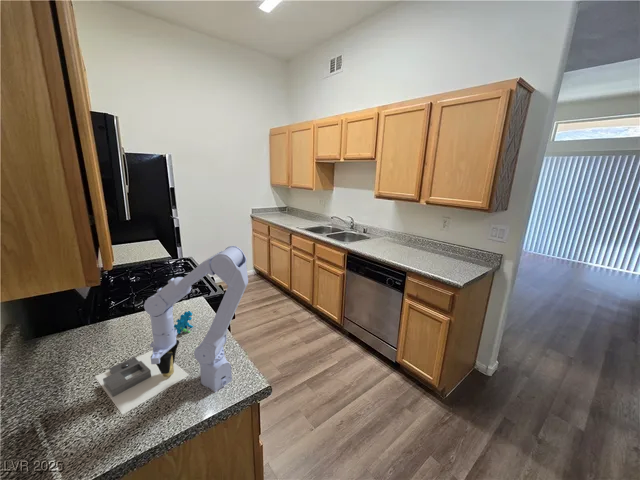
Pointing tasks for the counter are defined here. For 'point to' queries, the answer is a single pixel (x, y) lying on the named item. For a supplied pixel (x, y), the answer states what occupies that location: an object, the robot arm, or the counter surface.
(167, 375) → the pin
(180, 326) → the gear
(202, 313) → the counter surface
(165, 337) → the robot arm
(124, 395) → the mat
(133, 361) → the plate
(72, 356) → the counter surface
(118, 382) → the plate
